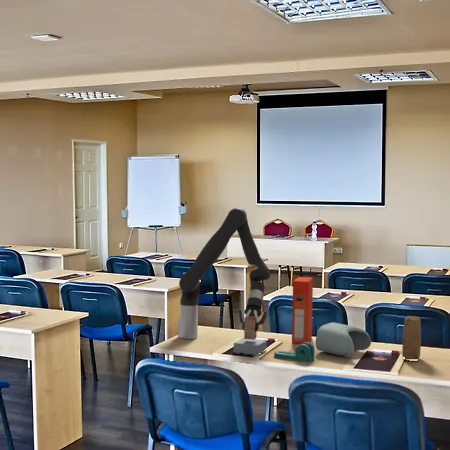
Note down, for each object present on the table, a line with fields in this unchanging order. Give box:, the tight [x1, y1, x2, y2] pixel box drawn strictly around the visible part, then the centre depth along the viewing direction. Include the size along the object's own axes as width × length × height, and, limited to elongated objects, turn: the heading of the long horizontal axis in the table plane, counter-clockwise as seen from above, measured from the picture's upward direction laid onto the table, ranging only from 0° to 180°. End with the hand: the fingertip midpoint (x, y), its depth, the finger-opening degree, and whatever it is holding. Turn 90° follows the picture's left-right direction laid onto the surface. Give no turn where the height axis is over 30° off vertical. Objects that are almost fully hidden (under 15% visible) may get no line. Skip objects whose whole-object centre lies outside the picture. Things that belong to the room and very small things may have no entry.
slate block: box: [233, 337, 267, 356], centre depth 309 cm, size 12×12×5 cm
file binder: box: [291, 276, 314, 346], centre depth 332 cm, size 8×17×32 cm, turn 165°
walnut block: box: [243, 315, 258, 340], centre depth 309 cm, size 5×5×10 cm
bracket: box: [273, 341, 315, 364], centre depth 298 cm, size 18×7×8 cm, turn 64°
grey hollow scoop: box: [315, 321, 372, 358], centre depth 310 cm, size 22×19×13 cm
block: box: [401, 315, 422, 360], centre depth 301 cm, size 11×8×20 cm
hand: (249, 330), depth 307 cm, fingers closed on walnut block, 5 cm apart
